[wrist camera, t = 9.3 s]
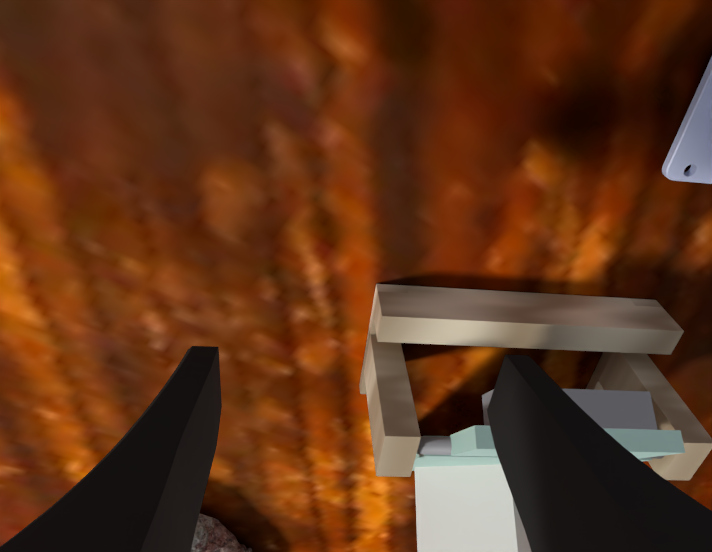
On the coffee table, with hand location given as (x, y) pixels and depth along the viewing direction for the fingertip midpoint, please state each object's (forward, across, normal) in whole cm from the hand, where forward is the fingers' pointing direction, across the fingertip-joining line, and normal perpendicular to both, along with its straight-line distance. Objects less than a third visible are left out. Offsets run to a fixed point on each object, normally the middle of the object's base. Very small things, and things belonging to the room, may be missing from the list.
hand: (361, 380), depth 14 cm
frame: (+10, -9, +8) cm, 16 cm away
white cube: (+8, -8, +14) cm, 18 cm away
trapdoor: (+8, -9, +10) cm, 15 cm away
